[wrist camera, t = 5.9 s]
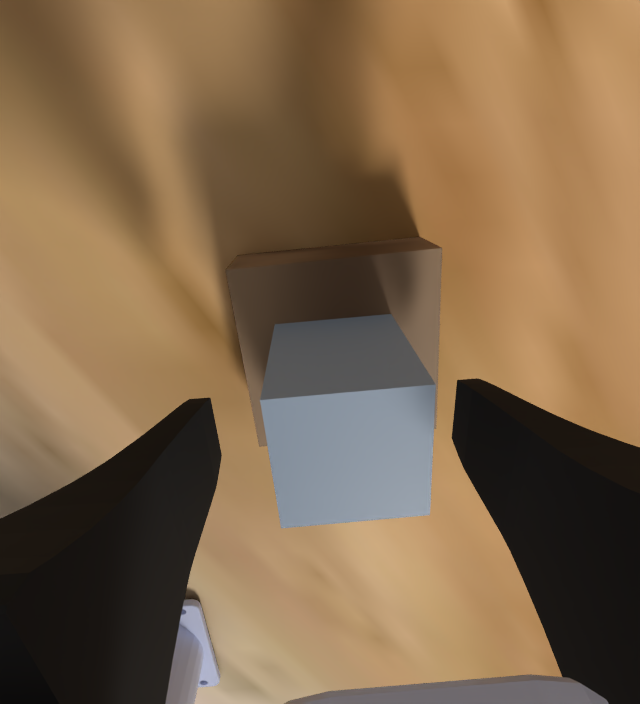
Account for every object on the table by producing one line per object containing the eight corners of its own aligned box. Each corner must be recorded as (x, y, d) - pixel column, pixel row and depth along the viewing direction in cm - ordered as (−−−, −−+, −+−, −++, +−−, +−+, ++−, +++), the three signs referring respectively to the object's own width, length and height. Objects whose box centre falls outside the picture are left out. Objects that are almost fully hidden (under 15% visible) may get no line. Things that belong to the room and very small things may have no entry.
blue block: (287, 422, 15) (281, 528, 11) (275, 324, 13) (259, 400, 9) (391, 412, 15) (429, 514, 11) (390, 314, 13) (436, 384, 9)
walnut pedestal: (265, 406, 18) (259, 446, 16) (239, 253, 15) (225, 269, 13) (416, 391, 18) (436, 428, 16) (417, 235, 15) (441, 248, 13)
